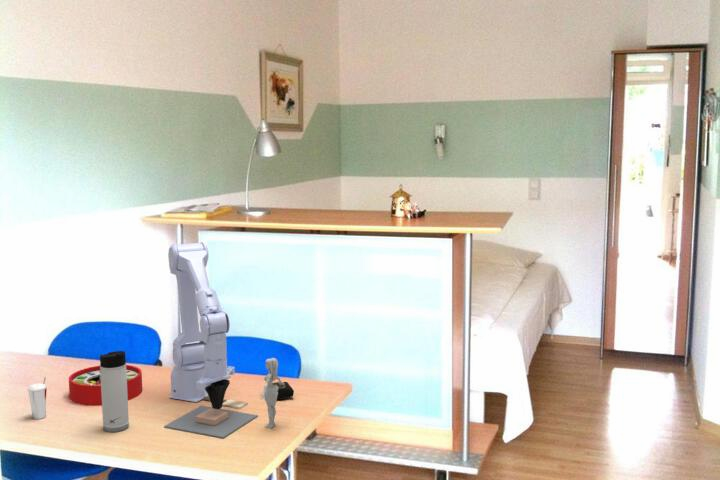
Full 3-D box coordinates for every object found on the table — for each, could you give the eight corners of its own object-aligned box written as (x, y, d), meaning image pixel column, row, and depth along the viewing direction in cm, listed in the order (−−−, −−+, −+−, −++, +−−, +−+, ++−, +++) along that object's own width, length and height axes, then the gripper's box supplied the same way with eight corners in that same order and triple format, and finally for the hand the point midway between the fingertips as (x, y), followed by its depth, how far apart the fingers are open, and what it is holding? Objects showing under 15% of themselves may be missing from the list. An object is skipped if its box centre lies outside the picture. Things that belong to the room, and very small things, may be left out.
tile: (209, 414, 200) (195, 422, 195) (209, 408, 200) (195, 416, 194) (228, 418, 198) (215, 426, 192) (228, 412, 197) (214, 420, 192)
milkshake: (54, 414, 202) (52, 378, 200) (39, 421, 197) (37, 384, 195) (40, 412, 203) (38, 376, 202) (26, 419, 198) (23, 382, 197)
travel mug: (115, 434, 188) (111, 356, 185) (97, 429, 191) (94, 352, 189) (135, 426, 193) (131, 350, 190) (117, 421, 197) (114, 346, 194)
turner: (200, 402, 211) (200, 398, 210) (208, 397, 214) (208, 394, 214) (239, 408, 205) (239, 405, 205) (247, 404, 209) (247, 400, 209)
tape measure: (294, 400, 213) (294, 387, 212) (270, 402, 210) (270, 389, 210) (289, 392, 219) (289, 380, 218) (265, 394, 217) (265, 382, 216)
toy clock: (55, 384, 208) (88, 363, 228) (56, 405, 209) (89, 382, 229) (124, 387, 206) (152, 365, 226) (125, 407, 207) (152, 384, 227)
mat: (164, 427, 192) (164, 425, 192) (201, 406, 207) (201, 405, 207) (223, 438, 185) (223, 437, 185) (257, 416, 200) (257, 415, 200)
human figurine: (276, 417, 199) (274, 351, 196) (289, 419, 198) (288, 352, 195) (254, 434, 188) (253, 364, 185) (268, 436, 186) (267, 366, 184)
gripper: (212, 367, 188) (213, 419, 190) (243, 352, 201) (245, 401, 203) (188, 364, 191) (190, 415, 192) (221, 349, 204) (222, 397, 206)
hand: (217, 408), depth 198 cm, fingers closed
